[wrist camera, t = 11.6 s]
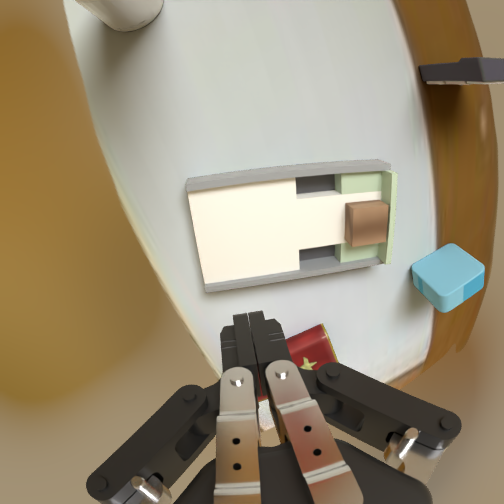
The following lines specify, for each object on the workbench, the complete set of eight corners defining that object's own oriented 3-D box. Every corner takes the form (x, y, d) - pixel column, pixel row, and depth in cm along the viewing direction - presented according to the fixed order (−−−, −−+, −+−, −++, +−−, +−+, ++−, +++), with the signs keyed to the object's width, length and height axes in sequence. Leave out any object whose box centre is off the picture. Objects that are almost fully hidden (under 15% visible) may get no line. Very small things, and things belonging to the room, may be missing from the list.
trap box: (187, 178, 43) (184, 188, 37) (378, 159, 45) (397, 166, 39) (206, 279, 50) (205, 300, 45) (374, 253, 52) (389, 268, 47)
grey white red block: (422, 85, 40) (485, 87, 26) (416, 62, 38) (478, 57, 24) (462, 81, 39) (521, 85, 26) (457, 60, 37) (515, 59, 24)
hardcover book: (225, 361, 60) (226, 376, 56) (321, 321, 58) (328, 334, 54) (249, 391, 65) (251, 405, 61) (335, 356, 63) (341, 369, 60)
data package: (410, 282, 57) (442, 316, 46) (408, 265, 55) (442, 298, 44) (452, 257, 56) (486, 285, 45) (451, 240, 54) (487, 267, 43)
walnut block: (345, 202, 44) (353, 209, 41) (379, 199, 45) (388, 205, 42) (344, 239, 47) (352, 247, 44) (377, 234, 47) (385, 241, 45)
